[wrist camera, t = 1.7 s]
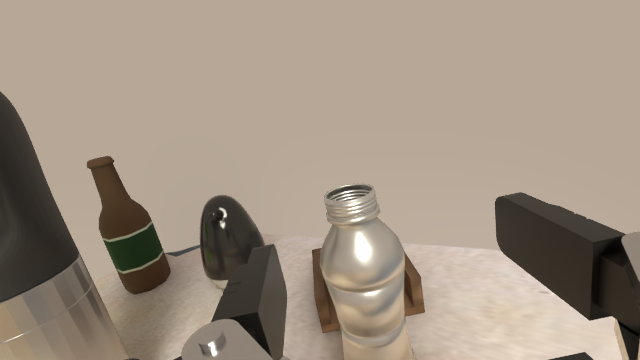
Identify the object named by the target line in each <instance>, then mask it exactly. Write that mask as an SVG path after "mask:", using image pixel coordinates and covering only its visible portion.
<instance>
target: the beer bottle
mask: <svg viewBox="0 0 640 360" xmlns="http://www.w3.org/2000/svg"><path fill="white" fill-rule="evenodd" d="M113 162H114V160H113V159H112V158H111V157H110V156H105V157H100V158H97V159H93V160H89V161H88V162H87V167H88V168H89V169H91V171H92V174H93V177H94V180H95V183H96V186H97V189H98V192H99V195H100V198H101V202H102V211H101V214H100V217H99V230H100V233H101V236H102V238H103V241H104V243H105V245H106V247H107V250H108V252H109V254H110V256H111V259H112V260H113V263H114V265H115V268H116V270H117V272H118V274H119V277H120V279H121V281H122V283H123V285H124V287H125V289H126V290H128V291H129V292H131V293H133V294H138V293H142V292H146V291H149V290H152V289H153V288H155V287H157V286H158V285H160V284H161V283H163V282H165V281H166V279H167V277H168V276H169V274H170V268H169V264H168V261H167V259H166V256H165V254H164V251H163V249H162V246H161V243H160V241H159V238H158V236H157V233H156V231H155V228H154V225H153V223H152V220H151V218H150V216H149V214H148V212H147V211H146V210H145V209H144V208H143V207H142V206H141V205H140V204H138V203H137V202H135V201H134V200H132V199H131V198H130V196H129V195H128V193H127V192H126V190H125V188H124V186H123V184H122V182H121V180H120V178H119V175H118V173H117V172H116V169H115V167H114V165H113Z"/></svg>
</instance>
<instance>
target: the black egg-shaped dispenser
mask: <svg viewBox="0 0 640 360" xmlns="http://www.w3.org/2000/svg"><path fill="white" fill-rule="evenodd" d="M262 246H266V245H265V243H264V241H263V238H262V236H261V234H260V232H259V230H258V228H257V227H256V225H255V224H254V222H253V220H252V219H251V217H250V215H249V214H248V213H247V211H246V210H245V209H244V208H243V207H242V205H241V204H240V203H239V202H238V201H236V200H235V199H234V198H232V197H230V196H227V195H218V196H215V197H213V198H211V199H210V200H209V201H207V203H206V204H205V206H204V208H203V211H202V215H201V221H200V249H201V257H202V263H203V268H204V271H205V274H206V276H207V277H208V278H210V279H211V281H212V282H213V283H214V284H215V285H216V286H218V287H220V288H222V289H225V287H226V284H227V282H228V279H229V277H230V275H231V274H232V273H233V272H234V271H235V270H236V269H237V268H238V266H239V265H243V264H247V263H248V260H249V257H250V254H251V251H252V249H253V248H257V247H262Z"/></svg>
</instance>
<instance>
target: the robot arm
mask: <svg viewBox="0 0 640 360" xmlns="http://www.w3.org/2000/svg"><path fill="white" fill-rule="evenodd" d="M495 216H496V237H497V242H498V245H499V247H500V249H501V251H502V252H503V253H504V254H505V255H506V256H507V257H508V258H510V259H511V260H512V261H514V262H515V263H516V264H517V265H519V266H520V267H521V268H523V269H524V270H525V271H526V272H528V273H529V274H530V275H532V276H533V277H534V278H535V279H537V280H538V281H539V282H541V283H542V284H543V285H544V286H546V287H547V288H548V289H550V290H551V291H552V292H553V293H555V294H556V295H557V296H559V297H560V298H561V299H562V300H564V301H565V302H566V303H568V304H569V305H570V306H571V307H573V308H574V309H575V310H577V311H578V312H579V313H580V314H582V315H583V316H584V317H586V318H587V319H588V320H589V321H590V320H595V319H599V318H604V317H609V316H613V317H614V318H615V328H614V329H615V334H616V338H617V341H618V345H619V348H620V352H621V355H622V359H623V360H640V232H634V233H629V234H624V233H621V232H619V231H617V230H614V229H612V228H610V227H607V226H605V225H603V224H600V223H598V222H595V221H593V220H591V219H586V217H584V216H581V215H578V214H574V212H572V211H569V210H567V209H565V208H562V207H560V206H556V205H552V204H548V203H545V202H543V201H541V200H539V199H536V198H534V197H532V196H529V195H527V194H525V193H515V194H510V195H505V196H501V197H498V198H497V199H496V201H495ZM286 307H287V291H286V285H285V281H284V277H283V273H282V270H281V266H280V262H279V259H278V255H277V251H276V248H275V246H274V244H271V245H266V246H262V247H257V248H253V249H252V251H251V254H250V257H249V260H248V263H247V264H243V265H239V266H238V268H237V269H236V270H235V271H234V272H233V273H232V274H231V275H230V277H229V279H228V282H227V284H226V287H225V289H224V292H223V296H222V297H221V299H220V301H219V304H218V306H217V309H216V311H215V314H214V316H213V319H212V321H211V323H209V324H207V325H205V326H203V327H202V328H200V329H199V330H197V331H196V332H195V333H194V334H193V335H192V336H191V337H190V338H189V339H188V340H187V342H186V343H185V345H184V347H183V349H182V356H180V357H178V358H176V359H174V360H289V359H288V358H287V357H285V356H283V345H284V332H285V319H286ZM0 360H139V359H134V358H133V359H130V358H129V356H128V354H127V352H126V350H125V348H124V345H123V343H122V341H121V339H120V337H119V335H118V333H117V331H116V329H115V326H114V324H113V322H112V320H111V318H110V316H109V314H108V312H107V310H106V307H105V305H104V303H103V301H102V299H101V297H100V295H99V293H98V291H97V288H96V286H95V284H94V282H93V280H92V278H91V276H90V274H89V272H88V270H87V268H86V266H85V264H84V261H83V259H82V257H81V255H80V253H79V251H78V249H77V247H76V245H75V243H74V241H73V239H72V237H71V235H70V233H69V231H68V228H67V226H66V224H65V222H64V220H63V218H62V216H61V213H60V211H59V209H58V207H57V205H56V202H55V200H54V198H53V196H52V193H51V191H50V188H49V186H48V184H47V181H46V179H45V176H44V174H43V171H42V169H41V166H40V163H39V160H38V158H37V155H36V153H35V150H34V147H33V145H32V142H31V140H30V137H29V135H28V133H27V131H26V128H25V126H24V124H23V122H22V120H21V118H20V117H19V115H18V113H17V111H16V109H15V108H14V106H13V105H12V104H11V102H10V101H9V100H8V99H7V97H5V95H3V94H2V93H1V92H0ZM550 360H593V359H592V358H591V357H590V356H589V355H588V354H587V353H585V352H583V353H578V354H573V355H569V356H564V357H559V358H554V359H550Z"/></svg>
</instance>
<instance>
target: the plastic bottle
mask: <svg viewBox="0 0 640 360" xmlns="http://www.w3.org/2000/svg"><path fill="white" fill-rule="evenodd" d="M324 198H325V199H324V200H325V205H326V209H327V213H326V215H327V219H328V222H329V223H331V224H332V227H331V229H330V231H329V233H328V234H327V236H326V239H325V241H324V244H323V246H322V249H321V255H320V267H321V271H322V274H323V277H324V279H325V282H326V285H327V288H328V290H329V293H330V295H331V298H332V300H333V303H334V306H335V310H336V313H337V317H338V320H339V325H340V328H341V332H342V342H343V351H344V360H416V358H415V355H414V352H413V350H412V348H411V344H410V340H409V336H408V331H407V327H406V323H405V311H404V271H405V267H404V266H405V259H404V249H403V247H402V245H401V243H400V241H399V238H398V237H397V235H396V234H394V232H393V231H392V230H391V229H390V228H389V227H388V226H387V225H386V224H385V223H383V222H382V221H381V220H380V219H379V218H377V216H378V214H379V212H380V209H379V205H378V203H377V200H376V194H375V190H374V187H373V186H371V185H369V184H350V185H344V186H341V187H338V188H335V189H332V190H330V191H329V192H327V193H326V194H325V197H324Z"/></svg>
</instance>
